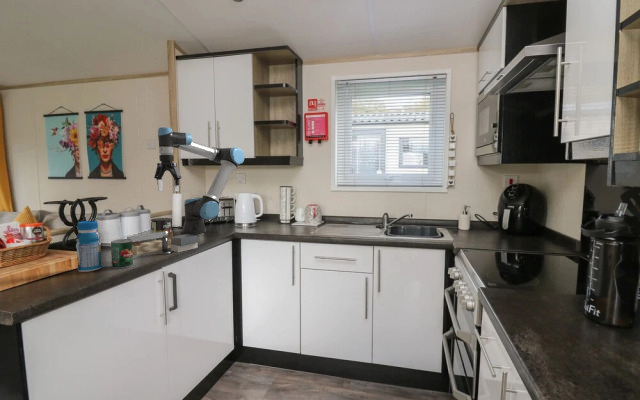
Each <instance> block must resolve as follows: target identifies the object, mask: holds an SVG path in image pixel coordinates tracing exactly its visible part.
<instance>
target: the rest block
mask: <svg viewBox="0 0 640 400" xmlns="http://www.w3.org/2000/svg"><path fill="white" fill-rule="evenodd" d="M198 245H199V244H198V241H197V243H194V244H189V245H185V246H177V245H171V248H170V251H172V252H175V253H181V252H186V251H189V250H190V251H191V250H194V249H197V248H199V246H198Z"/></svg>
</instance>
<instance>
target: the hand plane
mask: <svg viewBox="0 0 640 400" xmlns="http://www.w3.org/2000/svg"><path fill="white" fill-rule="evenodd" d="M173 236H174V232H173V231H171V232H168V237H167V239H168V249H171V237H173ZM132 251H133V252H132V253H133V255H135V256H139V255H143V254H149V253H152V252H157V251H162V240H156V241H152V240H151V241H146V242H141V241H136V242H132Z"/></svg>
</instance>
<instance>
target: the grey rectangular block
mask: <svg viewBox="0 0 640 400" xmlns="http://www.w3.org/2000/svg"><path fill="white" fill-rule="evenodd" d="M197 242H198V234H197V235H196V234H184V233H183V234H178V235H175V236H174V235H173V237H171V245H177V246H185V245H189V244H194V243H197Z"/></svg>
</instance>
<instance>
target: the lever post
mask: <svg viewBox="0 0 640 400" xmlns="http://www.w3.org/2000/svg"><path fill="white" fill-rule="evenodd" d="M172 252H173V251H171V250H169V248H168V239H167V237H162V250H159V251H158V256H159V255H160V256H165V255H171V254H172Z"/></svg>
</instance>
